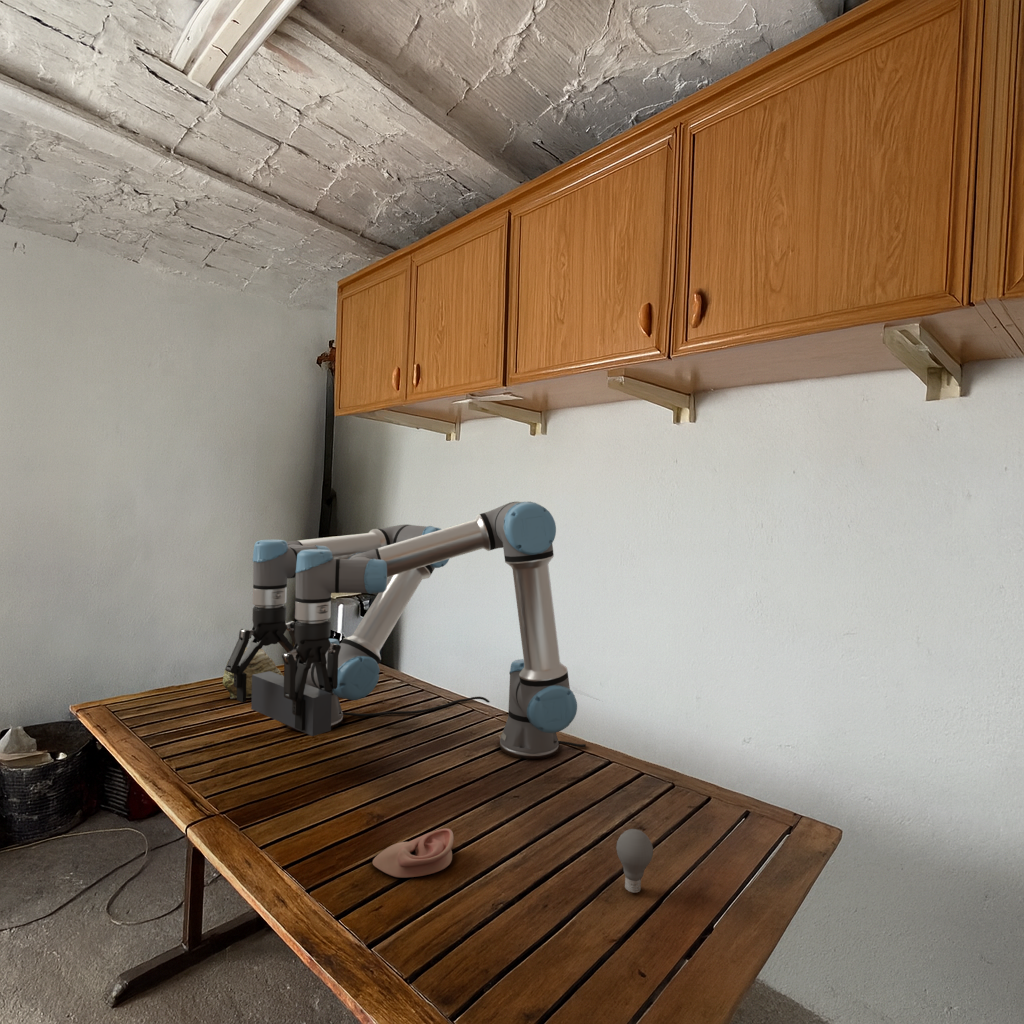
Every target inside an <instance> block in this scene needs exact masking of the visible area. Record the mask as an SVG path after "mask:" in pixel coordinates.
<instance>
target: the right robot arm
mask: <svg viewBox="0 0 1024 1024" xmlns="http://www.w3.org/2000/svg"><path fill="white" fill-rule="evenodd" d="M441 529H442V530H438V531H435V532H432V533H428V534H425V535H421V536H418V537H415V538H411V539H408V540H404V541H401V542H398V543H394V544H391V545H387V546H384V547H380V548H378V549H374V550H371V551H367V552H359V553H356V554H353V555H352V556H351V557H349V558H348V559H333V556H332V552H331V551H330V550H321V549H308V550H302V551H300V552H299V553H298V554H297V564H296V578H295V601H294V603H295V605H294V619H295V620H296V621H295V622H296V623H295V640H296V643H295V645H293V647H294V648H293V650H292V651H290V652H287V651H285V652H283V653H282V654H281V658H282V661H283V676H284V697H285V698H288V699H290V700H292V713H293V714H294V715H295V728H296V729H299V730H301V731H303V730H305V704H306V700H304V699H302V698H303V693H304V689H305V684H306V680H307V675H308V671H309V669H310V668H311V664H312V663H314V664H315V667H316V672H317V678H318V683H319V688H320V689H321V690H323V691H326V692H329V693H332V692H333V689H336V688H337V686H338V655H339V652H340V649H341V646H340V645H337V644H334V643H332V644H331V643H330V640H329V639H330V637H331V630H332V629H331V626H332V625H331V624H332V623H331V621H330V619H331V617H332V594H370V595H372V594H377V593H381V592H384V591H385V590H386V586H387V579H388V577H390V576H393V575H396V574H400V573H403V572H406V571H410V570H413V569H416V568H420V567H423V566H426V565H430V564H433V563H436V562H440V561H443V560H446V559H449V560H450V559H452V558H456V557H459V556H463V555H466V554H470V553H473V552H476V551H479V550H485V551H487V552H491V551H493V550H497V549H503V555H504V563H506V564H507V565H508V566H509V567H510V568H511V569H512V576H513V584H514V592H515V593H514V594H515V600H516V601H515V602H516V609H517V617H518V625H519V632H520V633H519V634H520V641H521V647H522V648H521V649H522V657H523V658H522V659H521V658H520V659H515V660H513V661H512V662H511V663H510V669H509V687H508V688H509V689H508V710H507V711H508V712H507V720H506V722H505V724H504V728H503V730H502V732H501V735H500V739H499V748H500V750H501V751H502V752H503V753H505V755H508V756H511V757H514V758H517V759H523V760H542V759H547V758H551V757H553V756H555V755H556V754H557V753H558V752H559V746H560V745H566V746H571V747H572V746H573V747H576V748H586V747H587V744H586V743H576V742H570V741H564V740H559V738H558V734H557V733H558V732H562V731H563V730H565V729H566V728H568V727H569V726H570V724H571V723H572V722H573V721H574V720H575V718H576V715H577V711H578V700H577V699H576V695H575V694H574V691H572V690H571V688H570V679H569V670H568V667H567V666H565V665H564V664H563V662H561V657H560V650H559V649H560V648H559V641H558V640H559V639H558V632H557V624H556V617H555V608H554V599H553V590H552V583H551V576H550V566H549V565H550V562H551V561H552V560H553V558H554V557H555V554H554V547H553V546H554V545H553V543H554V541H555V539H556V535H557V526H556V521H555V518H554V517H553V515H552V513H551V512H550V511H549V509H547V508H546V507H545V506H542V505H541V504H539V503H538V502H534V501H511V502H508V503H505V504H503V505H500V506H498V507H496V508H494V509H491V510H488V511H485V512H482V513H479V514H477V515H476V517H475V518H474V519H472V520H469V521H465V522H463V523H459V524H456V525H453V526H449V527H445V528H441ZM327 651H328V656H327V661H326V656H325V654H326V653H327ZM296 655H297V656H298V662H297V667H298V668H297V672H296V664H295V661H296ZM304 663H305V664H304ZM326 664H327V668H326ZM295 674H296V677H295ZM301 731H300V732H301Z"/></svg>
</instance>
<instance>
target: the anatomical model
mask: <svg viewBox="0 0 1024 1024" xmlns="http://www.w3.org/2000/svg"><path fill="white" fill-rule="evenodd" d="M454 837H455V835H454V832H453V830H452V829H451V828H440V829H437V830H434V831H430V832H427V833H425V834H423V835H420V836H418V837H416V838H414V839H412V840H411V839H410V840H409V841H400V842H397V843H394V844H392V845H390V846H387V847H386V848H385V849H383V850H382V851H380V852H379V853H377V855H376V856H375V857H374V858H373V859H372V865H373V866H374V867H375V868H376V869H378V870H379V871H381V872H382V873H385V874H386V875H389V876H391V877H394V878H399V879H401V878H402V879H405V878H414V877H415V878H416V877H423V876H427V875H431V874H436V873H438V872H440V871H443V870H444V869H446V868H447V867H448V866H450V865H451V863H452V861H453V851H452V849H453V846H454V840H455V839H454Z"/></svg>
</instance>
